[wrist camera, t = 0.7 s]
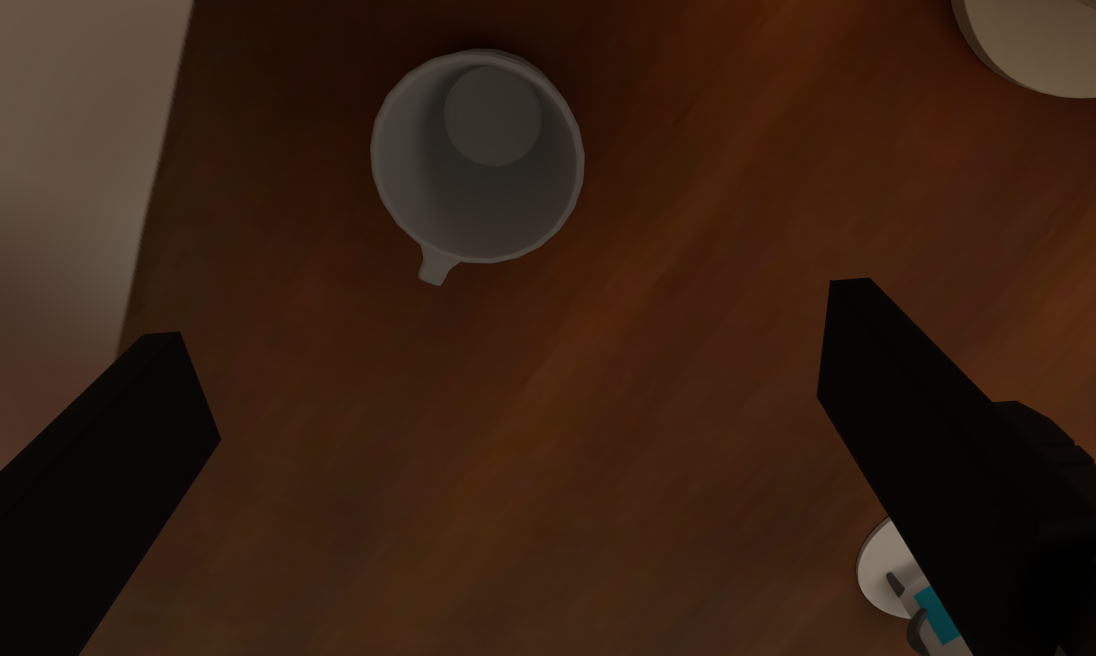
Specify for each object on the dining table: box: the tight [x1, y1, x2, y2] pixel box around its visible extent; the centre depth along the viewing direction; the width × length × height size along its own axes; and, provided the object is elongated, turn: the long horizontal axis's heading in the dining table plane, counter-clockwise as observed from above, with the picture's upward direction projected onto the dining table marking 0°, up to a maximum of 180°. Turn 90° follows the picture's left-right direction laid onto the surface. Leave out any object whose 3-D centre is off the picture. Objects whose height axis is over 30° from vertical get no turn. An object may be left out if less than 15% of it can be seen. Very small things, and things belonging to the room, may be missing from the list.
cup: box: [370, 48, 585, 286], centre depth 29 cm, size 8×10×8 cm
